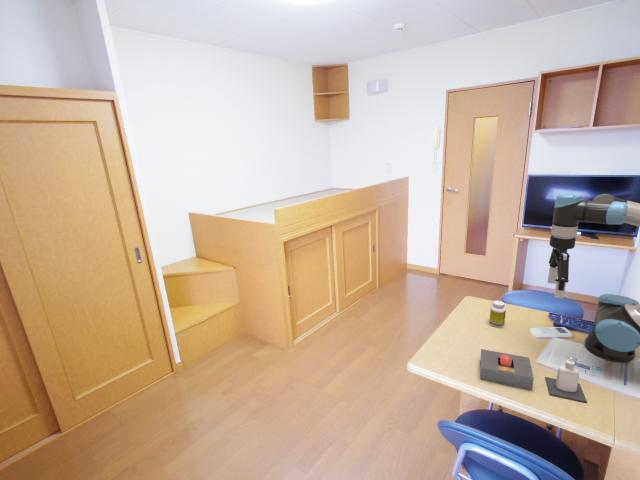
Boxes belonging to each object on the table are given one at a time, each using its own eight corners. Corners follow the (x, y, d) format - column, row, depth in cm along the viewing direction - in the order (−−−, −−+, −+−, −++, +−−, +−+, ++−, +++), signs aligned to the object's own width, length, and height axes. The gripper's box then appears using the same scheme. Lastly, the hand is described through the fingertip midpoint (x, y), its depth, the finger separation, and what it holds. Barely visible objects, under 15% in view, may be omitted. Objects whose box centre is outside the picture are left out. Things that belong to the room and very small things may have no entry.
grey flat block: (527, 369, 124) (529, 357, 123) (532, 390, 114) (533, 377, 113) (480, 360, 131) (481, 348, 130) (480, 379, 121) (481, 367, 119)
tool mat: (579, 385, 115) (579, 383, 115) (586, 403, 107) (587, 401, 107) (545, 378, 119) (545, 376, 119) (549, 395, 112) (549, 393, 111)
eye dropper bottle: (573, 396, 110) (579, 365, 106) (553, 387, 114) (558, 357, 111) (577, 389, 112) (583, 359, 109) (558, 381, 117) (563, 351, 113)
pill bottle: (505, 328, 151) (507, 306, 148) (490, 327, 153) (492, 305, 150) (502, 321, 157) (504, 300, 154) (488, 320, 159) (490, 299, 156)
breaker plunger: (509, 370, 123) (511, 355, 121) (510, 376, 120) (512, 361, 118) (498, 368, 125) (500, 353, 123) (499, 374, 122) (500, 358, 120)
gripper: (544, 227, 133) (538, 276, 139) (557, 245, 112) (549, 302, 118) (567, 228, 130) (560, 278, 136) (585, 247, 109) (575, 306, 114)
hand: (555, 290), depth 127 cm, fingers open, 13 cm apart
